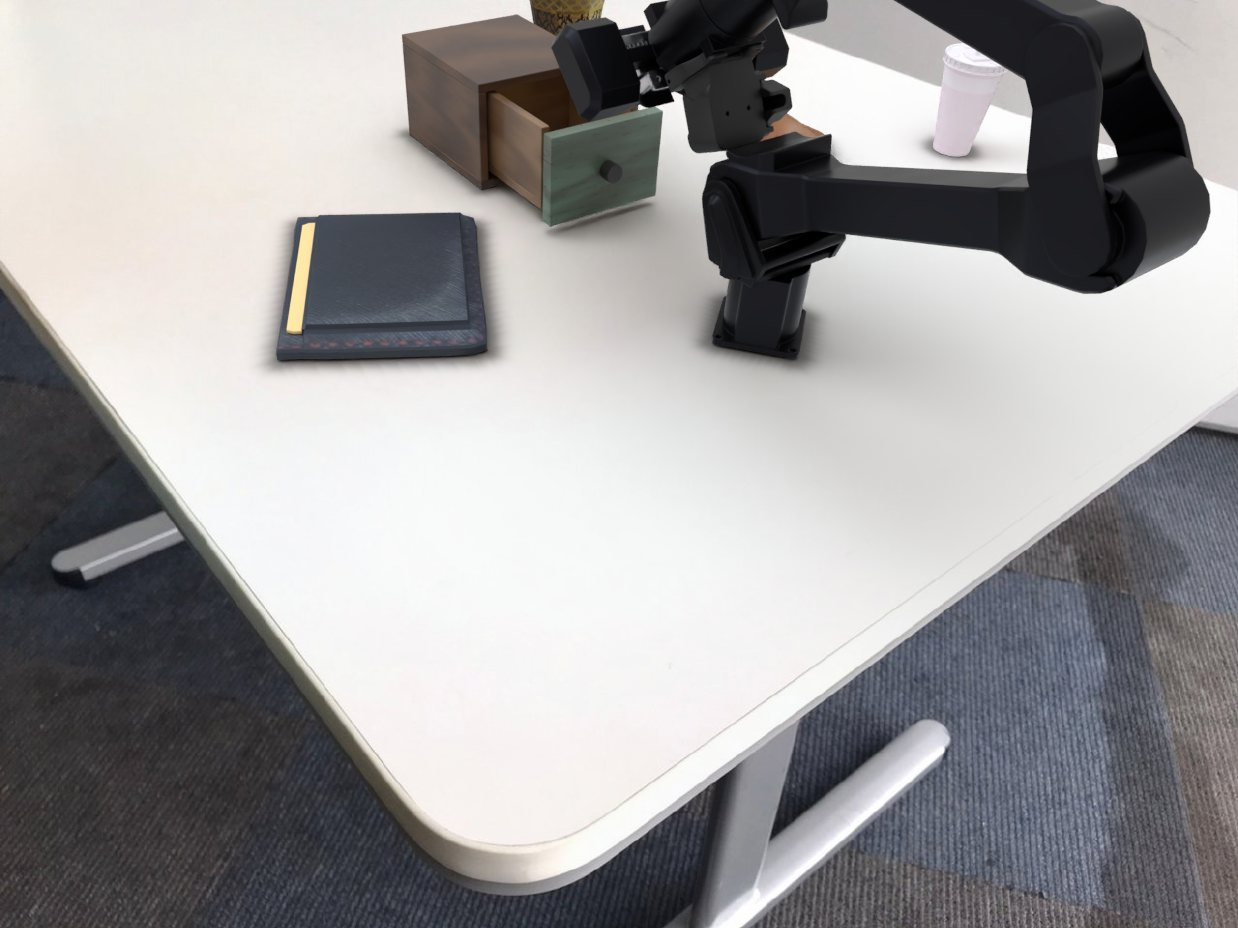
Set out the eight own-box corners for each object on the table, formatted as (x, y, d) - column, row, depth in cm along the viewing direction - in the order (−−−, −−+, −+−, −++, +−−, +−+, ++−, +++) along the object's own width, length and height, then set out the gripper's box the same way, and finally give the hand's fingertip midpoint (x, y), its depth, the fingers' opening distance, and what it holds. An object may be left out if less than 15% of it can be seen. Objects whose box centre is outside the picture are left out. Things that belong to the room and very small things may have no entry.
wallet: (487, 335, 72) (263, 339, 70) (487, 357, 73) (267, 362, 71) (480, 201, 86) (295, 202, 84) (481, 221, 88) (299, 222, 86)
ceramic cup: (623, 49, 121) (628, -41, 115) (576, 73, 115) (579, -21, 108) (534, 24, 126) (534, -64, 119) (484, 45, 119) (482, -47, 113)
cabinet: (594, 160, 98) (598, 59, 92) (481, 190, 92) (478, 84, 86) (517, 110, 106) (517, 14, 100) (409, 134, 100) (401, 34, 94)
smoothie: (912, 152, 104) (950, 9, 95) (928, 130, 109) (966, -8, 99) (974, 168, 102) (1019, 24, 93) (988, 145, 107) (1032, 6, 97)
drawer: (663, 201, 91) (672, 116, 86) (558, 233, 85) (560, 144, 80) (575, 143, 99) (578, 62, 93) (473, 169, 93) (470, 84, 88)
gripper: (671, 141, 63) (565, 227, 77) (873, 86, 72) (747, 172, 86) (601, -28, 63) (508, 89, 76) (814, -63, 72) (697, 48, 85)
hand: (622, 104), depth 81 cm, fingers closed
